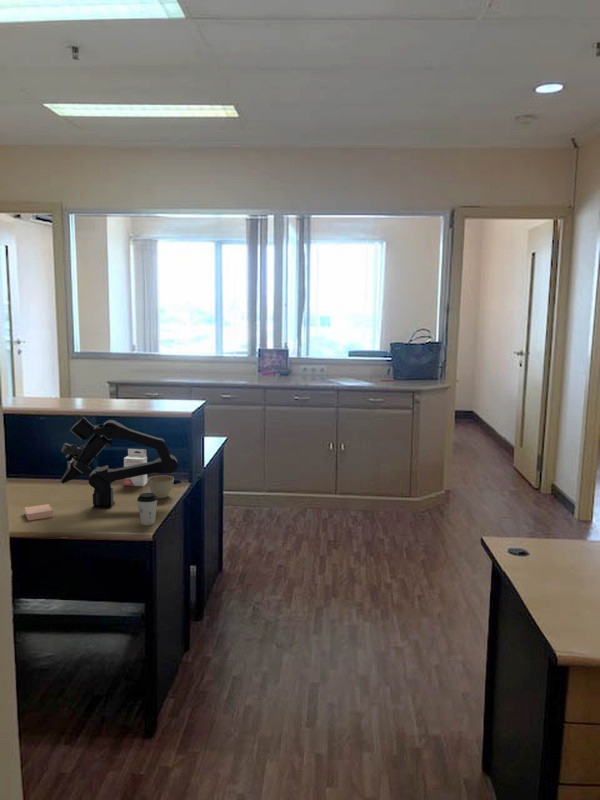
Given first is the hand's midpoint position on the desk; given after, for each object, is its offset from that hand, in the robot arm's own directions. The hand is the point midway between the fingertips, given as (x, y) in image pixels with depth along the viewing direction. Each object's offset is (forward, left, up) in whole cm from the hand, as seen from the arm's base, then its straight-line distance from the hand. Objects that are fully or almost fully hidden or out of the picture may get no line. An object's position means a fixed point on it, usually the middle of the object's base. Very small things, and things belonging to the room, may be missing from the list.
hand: (61, 482), depth 217 cm
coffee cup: (-33, +11, -11) cm, 37 cm away
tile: (+4, +2, -10) cm, 11 cm away
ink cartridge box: (-18, -35, -11) cm, 41 cm away
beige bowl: (-31, -19, -11) cm, 38 cm away
